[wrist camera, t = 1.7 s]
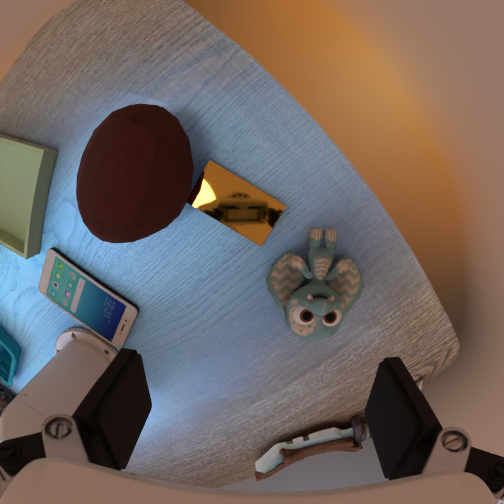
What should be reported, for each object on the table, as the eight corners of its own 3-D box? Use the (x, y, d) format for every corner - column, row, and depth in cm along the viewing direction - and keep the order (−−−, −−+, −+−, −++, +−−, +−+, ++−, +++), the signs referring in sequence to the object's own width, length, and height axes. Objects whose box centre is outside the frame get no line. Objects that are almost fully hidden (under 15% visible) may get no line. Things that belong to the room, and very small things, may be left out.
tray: (58, 150, 30) (44, 149, 27) (39, 253, 33) (26, 259, 30) (-7, 132, 29) (-20, 131, 26) (-21, 219, 32) (-34, 222, 29)
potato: (95, 209, 31) (40, 225, 21) (136, 102, 28) (89, 78, 18) (176, 248, 32) (142, 281, 22) (225, 136, 29) (209, 117, 19)
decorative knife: (428, 386, 33) (234, 458, 36) (433, 425, 34) (256, 489, 37) (416, 373, 38) (236, 440, 40) (422, 411, 38) (257, 472, 41)
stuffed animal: (387, 233, 26) (368, 356, 27) (362, 233, 33) (349, 333, 34) (273, 220, 26) (260, 351, 27) (270, 223, 33) (260, 328, 34)
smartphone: (48, 246, 32) (139, 310, 33) (51, 244, 33) (141, 307, 34) (37, 290, 34) (120, 351, 35) (40, 288, 34) (122, 347, 36)
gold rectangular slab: (211, 160, 30) (187, 200, 31) (209, 160, 29) (185, 201, 30) (284, 205, 31) (260, 243, 32) (286, 206, 30) (261, 246, 31)
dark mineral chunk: (32, 432, 37) (-15, 373, 34) (9, 433, 39) (-32, 380, 35) (43, 416, 43) (-1, 359, 39) (19, 419, 44) (-19, 368, 40)
